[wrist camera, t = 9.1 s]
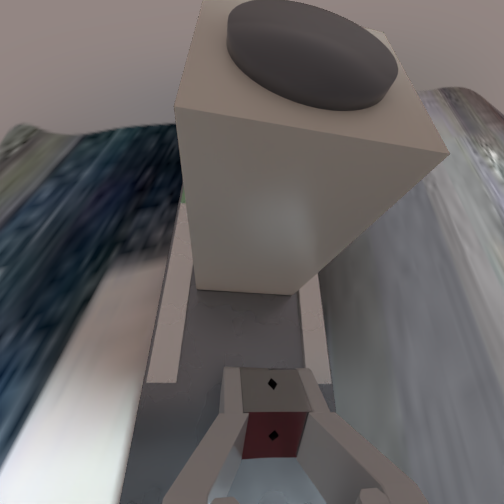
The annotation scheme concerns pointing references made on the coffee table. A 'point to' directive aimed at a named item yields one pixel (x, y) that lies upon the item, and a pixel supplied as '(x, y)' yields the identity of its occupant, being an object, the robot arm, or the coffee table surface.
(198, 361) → the gauge bed
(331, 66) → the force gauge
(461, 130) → the coffee table surface
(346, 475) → the robot arm
